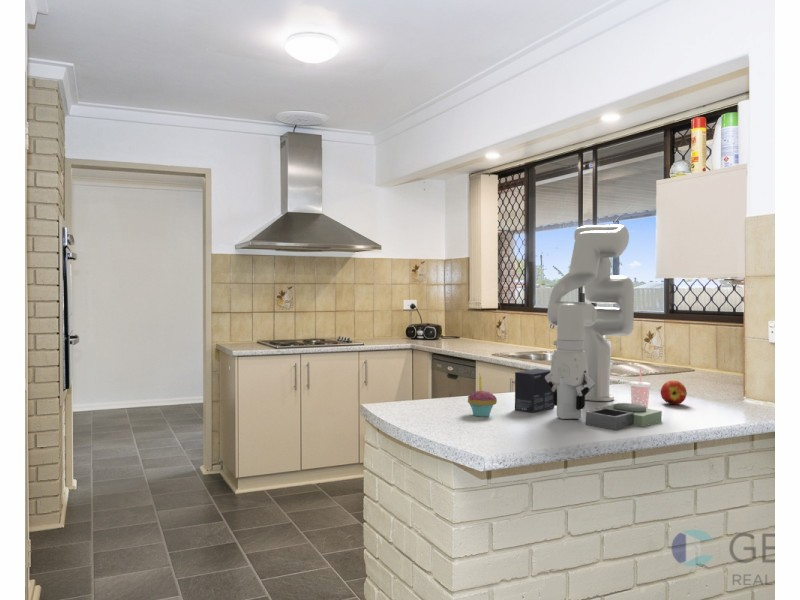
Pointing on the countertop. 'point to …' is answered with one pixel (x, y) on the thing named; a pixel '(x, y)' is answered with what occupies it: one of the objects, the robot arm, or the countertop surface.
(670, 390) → the apple
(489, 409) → the cupcake
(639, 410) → the green domed square base
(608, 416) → the frame
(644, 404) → the beverage cup
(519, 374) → the small box
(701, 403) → the countertop surface
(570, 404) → the skincare box
